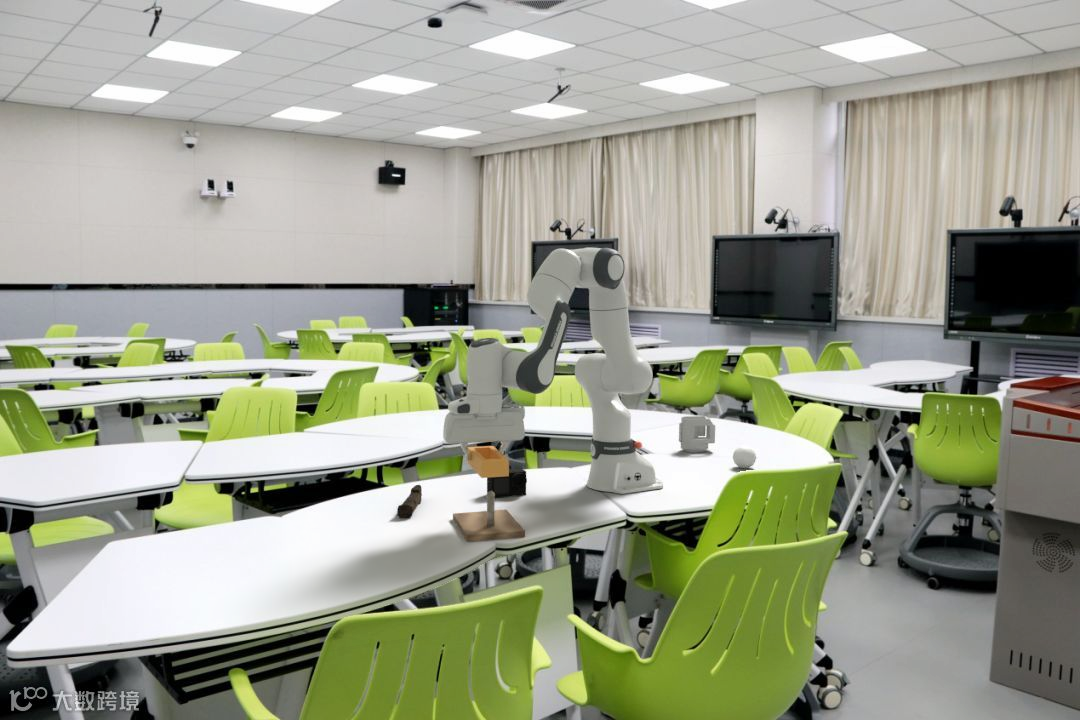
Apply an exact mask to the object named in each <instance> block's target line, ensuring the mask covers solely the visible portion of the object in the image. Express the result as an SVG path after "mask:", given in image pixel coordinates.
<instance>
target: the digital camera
mask: <svg viewBox="0 0 1080 720" xmlns="http://www.w3.org/2000/svg"><path fill="white" fill-rule="evenodd" d="M527 482H528V479H527V471H526V470H525V469H523V468H522V467H520V468H509V476H504V477H488V478H486V494H487V493H488V492H489V491H493V492H494V493H495V499H497V498H498V499H500V498H509V497H510V496H511V497H521V496H526V495H527Z"/></svg>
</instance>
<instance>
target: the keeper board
mask: <svg viewBox="0 0 1080 720" xmlns="http://www.w3.org/2000/svg"><path fill="white" fill-rule="evenodd" d="M495 499H496V498H495V493H494V492H493V491H489V492H488V493H487V492H486V510H483V511H481V510H479V511H469V512H456V513H452V521H454V523H455V524H456V526H457V528H458V529H459V531H460V532H461V534H462V536H463V537H464V539H465V540H466V542H468V543H469V542H478V541H491V540H501V539H502V540H503V539H513V538H523V537H526V530H525V528H524V527H523V526H522V525H521V524H520V523H519V522H518V520H517V519H516V518H515V517H514V516H513V515H512V514H511V513H510V511H508V510H507V509H495V508H496V507H495V503H496V502H495Z"/></svg>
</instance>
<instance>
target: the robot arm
mask: <svg viewBox="0 0 1080 720" xmlns="http://www.w3.org/2000/svg"><path fill="white" fill-rule="evenodd" d="M625 269H626V268H625V261H624V259H623V257H622V255H621V254H620V252H619V251H618V250H615V249H613V248H609V247H603V248H602V247H601V248H599V247H584V248H575V249H570V248H569V249H567V248H562V247H561V248H556V249H554V250H552V251H550V253H549V254H548V255H547V257H546V258H545V259H544V261H543V262H542V263H541V265H540V266H539V268H538V270H537V271H536V273H535V275H534V276H533V278H532V280H531V281H530V284H529V285H528V289H527V293H526V299H527V303H528V306H529V307H530V309H531V310H532V311H533V313H535V314H536V315H537V316H538V317H539V318H541V319H542V320H544V326H543V329H542V332H541V335H540V337H539V341H538V342H537V345H536V347H535V348H534V349H532V350H531V351H521V350H513V348H512V349H511V348H509V347H507V346H506V345H504V344H503V343H501V341H500V339H498V338H495V337H486V338H484V337H483V338H479V339H475V340H473V341H472V342H471V343H470V344H469V346H468V351H467V357H466V379H467V388H466V396H464V397H461V398H458V399H455V400H452V401H450V402H449V403H448V404H447V407H448V408H447V410H448V411H449V412H448V413H447V414H446V415H445V418H444V422H443V430H442V431H443V432H442V433H443V434H442V437H443V440H444V442H446V443H447V444H449V445H451V444H454V445H455V444H459V445H460V447H461V449H462V450H463V451H462V452H463V453H464V460H465V461H467V462H468V461H469V460H472V453H471V452H468V449H467V448H468V447H469V446H468V444H470V443H471V444H472V443H487V442H488V443H489V442H500V445H501V446H500V448H499V451H500V452H501V453H502V454H503V455H504V456H505V454H504V452H505V451H506V449H507V448H508V446H509V442H510V441H511V442H513V441H522V440H523V439H524V438H525V436H526V434H525V433H526V431H525V430H526V428H525V422H524V419H525V416H526V409H525V406H523V404H522V405H521V404H520V403H518V402H515V403H507V402H506V403H503V389H502V388H507V389H511V390H519V391H524V392H527V393H531V394H534V395H537V394H542V393H544V392H545V391H546V390H547V389H548V388H549V387H550V386H551V385H552V383H553V380H554V378H555V374H556V373H555V372H556V366H557V361H558V359H559V355H560V352H561V348H562V346H563V343H564V340H565V336H566V334H567V331H568V328H569V324H570V320H571V315H572V314H571V307H570V305H569V301H570V300H571V297H572V295H573V294H574V291H575V288H577V289H588V293H589V294H588V295H589V296H588V302H589V303H588V308H589V322H590V323H589V325H590V334H591V336H592V338H593V339H594V340H595V341H596V342H597V343H599V345H600V346H601V349H602V350H603V352H604V353H600V352H594V353H588V354H584V355H582V356H580V357H579V358H578V359H577V361H576V363H575V365H574V366H575V367H574V376H575V379H576V382H577V383H578V384H579V385H580V386H581V387H582V388H583V390H584V392H585V393H586V395H587V398H588V401H589V404H590V406H591V407H590V408H591V414H592V437H591V442H590V457H591V463H590V471H589V474H588V478H587V481H586V486H587V487H588V488H589V489H592V490H595V491H601V492H609V493H615V494H621V495H625V494H631V493H639V492H644V491H645V492H646V491H652V490H659V489H663V488H664V484H663V482H662V481H661V480H660V479H659V478H656V472H655V471H656V470H655V468H654V465H653V464H652V463H651V462H650V461H649V460H648V459H646V457H644V456H643V455H642V454H640V453H639V452H638V451H637V449H638V450H640V449H642V447H643V443H642V442H641V441H638V440H634V439H633V438H631V435H632V434H631V431H632V430H631V427H632V426H631V425H632V422H631V421H632V415H631V411H630V410H629V409H628V408H627V407H626V406H625V405H624V404H623V403H622V401H621V399H620V396H619V394H622V395H638V394H643V393H645V392H647V391H648V390H649V388H650V387H651V384H652V382H653V377H654V376H653V369H652V366H651V365H650V363H649V362H648V361H647V360H646V359H645V358H644V357H642V355H641V354H640V352H639V350H638V349H637V347H636V345H635V343H634V339H633V337H632V333H631V328H630V327H631V326H630V318H629V303H628V302H629V301H628V295H627V288H626V285H625V279H624V275H625V274H624V273H625Z"/></svg>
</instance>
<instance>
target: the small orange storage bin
mask: <svg viewBox="0 0 1080 720" xmlns="http://www.w3.org/2000/svg"><path fill="white" fill-rule="evenodd" d="M467 451H468V452H471V453H472V460H469V461H467V464H468V465H469V466H470V467H471V468H472V469H473V471H475V473H476V474H478V476H479V477H480V478H481V479H485V478H486V479H487V478H488V477H504V476H509V469H510V460H509V458H507V457H506V456H505V454H504V455H503V454H502V453H501V452H500V450H498V449H497V448H496V447H495V446H494V445H484V446H483V445H482V446H481V445H480V446H468V447H467Z"/></svg>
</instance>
